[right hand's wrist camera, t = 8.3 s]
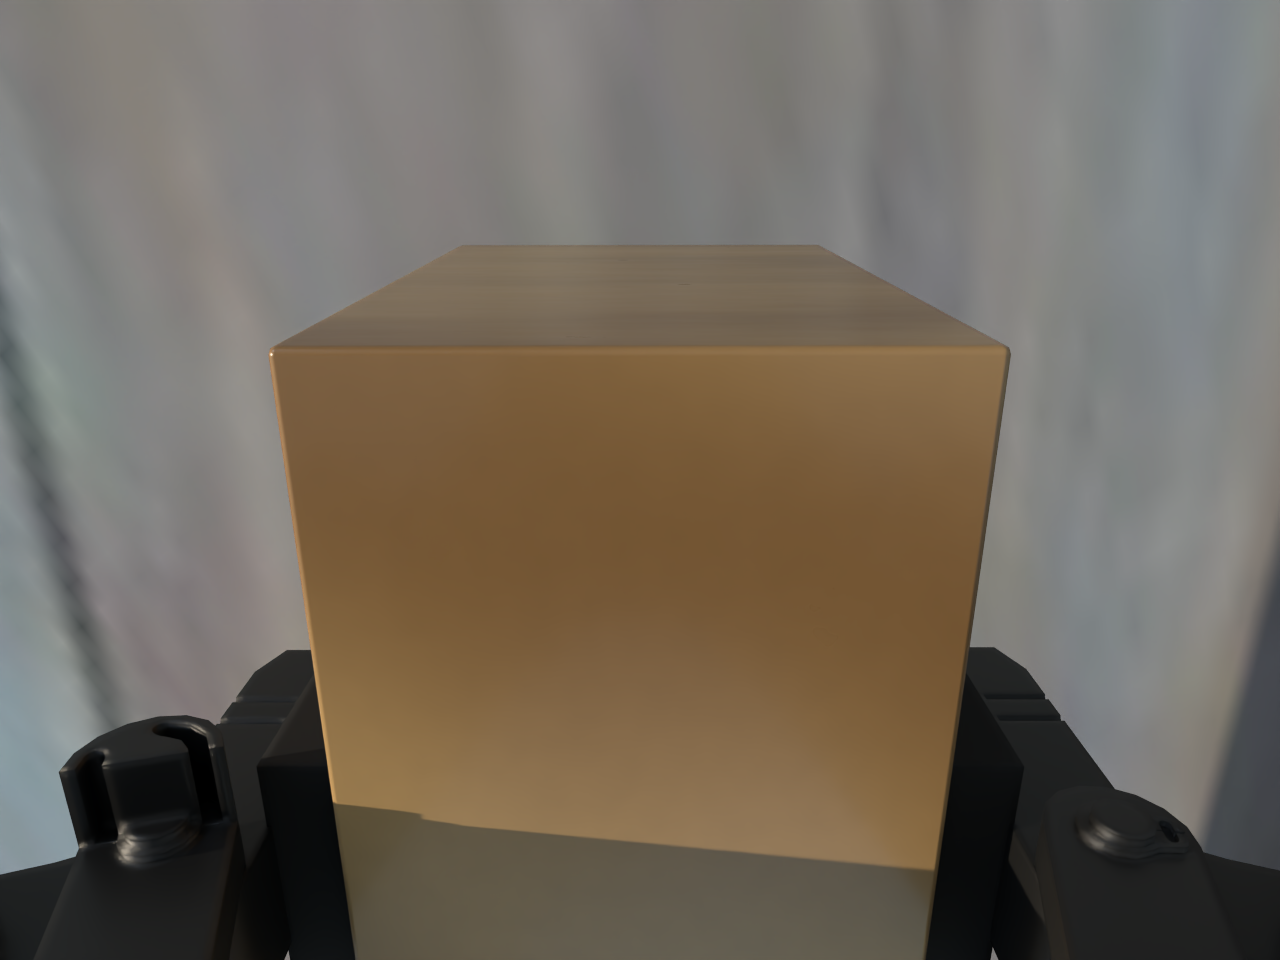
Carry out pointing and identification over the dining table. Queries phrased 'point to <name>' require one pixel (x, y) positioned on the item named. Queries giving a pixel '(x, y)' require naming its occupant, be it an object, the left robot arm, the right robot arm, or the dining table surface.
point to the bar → (640, 598)
